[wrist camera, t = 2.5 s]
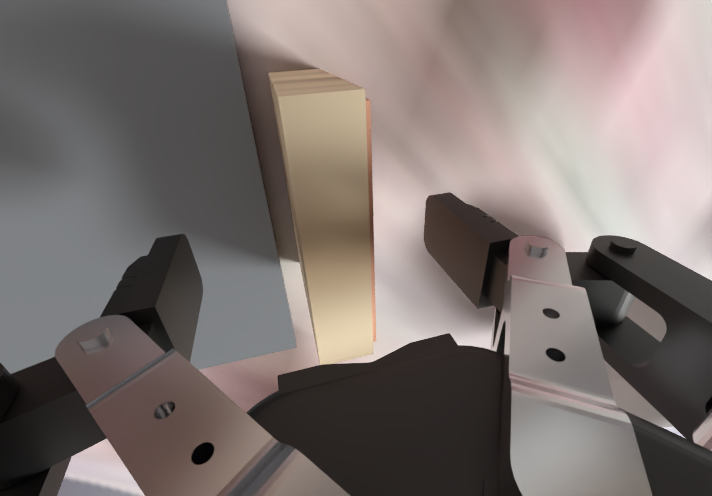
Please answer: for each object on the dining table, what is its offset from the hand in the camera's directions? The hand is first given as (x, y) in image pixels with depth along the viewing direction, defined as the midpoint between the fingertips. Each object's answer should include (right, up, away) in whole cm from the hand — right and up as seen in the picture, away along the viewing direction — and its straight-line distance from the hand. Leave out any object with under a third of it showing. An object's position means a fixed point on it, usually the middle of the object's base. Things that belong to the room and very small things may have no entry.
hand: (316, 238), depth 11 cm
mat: (-10, 0, +3) cm, 10 cm away
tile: (-1, +3, +4) cm, 5 cm away
